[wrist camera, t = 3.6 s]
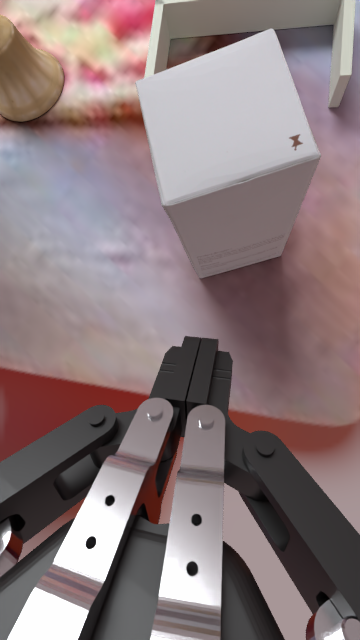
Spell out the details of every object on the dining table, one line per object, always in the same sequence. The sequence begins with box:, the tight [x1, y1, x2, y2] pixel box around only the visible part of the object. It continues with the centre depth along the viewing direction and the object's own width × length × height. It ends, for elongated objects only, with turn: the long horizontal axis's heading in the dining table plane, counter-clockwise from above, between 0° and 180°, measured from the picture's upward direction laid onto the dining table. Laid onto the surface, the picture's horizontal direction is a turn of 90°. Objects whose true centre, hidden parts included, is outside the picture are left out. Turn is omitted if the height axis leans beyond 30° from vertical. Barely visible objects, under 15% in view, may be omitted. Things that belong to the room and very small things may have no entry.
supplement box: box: [135, 29, 321, 278], centre depth 20 cm, size 7×7×13 cm
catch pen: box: [144, 0, 355, 108], centre depth 27 cm, size 9×17×3 cm, turn 83°
